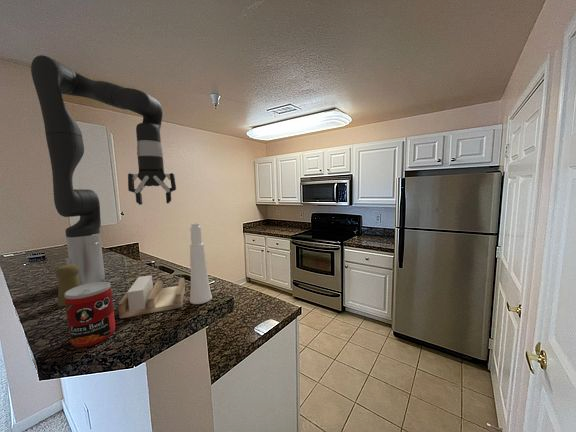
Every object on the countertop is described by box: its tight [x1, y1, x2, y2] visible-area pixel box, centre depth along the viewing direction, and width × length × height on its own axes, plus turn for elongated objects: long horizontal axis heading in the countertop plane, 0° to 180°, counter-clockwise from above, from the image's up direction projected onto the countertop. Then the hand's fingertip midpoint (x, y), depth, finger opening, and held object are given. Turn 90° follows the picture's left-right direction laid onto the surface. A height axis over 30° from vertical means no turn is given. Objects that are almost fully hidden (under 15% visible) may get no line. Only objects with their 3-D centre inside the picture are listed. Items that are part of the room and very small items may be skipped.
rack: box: [117, 277, 186, 319], centre depth 70 cm, size 14×14×4 cm
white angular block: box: [126, 275, 154, 311], centre depth 68 cm, size 4×12×5 cm, turn 20°
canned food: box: [64, 281, 116, 348], centre depth 53 cm, size 8×8×11 cm
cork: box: [54, 264, 81, 307], centre depth 72 cm, size 6×6×11 cm
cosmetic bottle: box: [189, 222, 213, 305], centre depth 69 cm, size 6×6×22 cm
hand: (154, 203), depth 85 cm, fingers open, 8 cm apart
